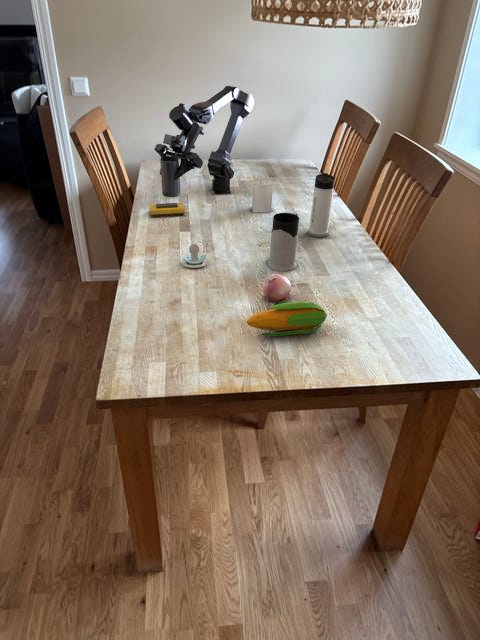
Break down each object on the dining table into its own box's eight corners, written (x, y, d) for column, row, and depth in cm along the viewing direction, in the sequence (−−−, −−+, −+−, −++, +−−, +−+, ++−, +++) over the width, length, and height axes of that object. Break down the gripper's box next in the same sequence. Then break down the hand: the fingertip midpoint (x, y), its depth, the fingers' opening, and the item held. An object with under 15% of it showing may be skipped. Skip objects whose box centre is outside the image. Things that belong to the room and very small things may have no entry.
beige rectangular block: (271, 212, 183) (272, 186, 178) (252, 212, 183) (254, 186, 177) (269, 208, 186) (271, 182, 181) (252, 208, 186) (253, 182, 180)
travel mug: (326, 230, 172) (334, 173, 160) (327, 238, 166) (335, 179, 155) (308, 229, 172) (315, 172, 161) (309, 237, 167) (315, 178, 155)
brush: (182, 210, 183) (182, 200, 181) (184, 215, 178) (184, 206, 176) (150, 212, 180) (149, 202, 178) (151, 217, 176) (150, 208, 174)
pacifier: (206, 269, 146) (206, 259, 151) (206, 250, 142) (206, 241, 147) (181, 269, 146) (182, 259, 150) (180, 250, 142) (181, 241, 147)
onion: (262, 290, 137) (263, 267, 133) (290, 291, 137) (292, 268, 133) (262, 306, 130) (263, 282, 126) (291, 307, 130) (294, 283, 126)
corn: (333, 309, 116) (250, 316, 112) (329, 336, 120) (249, 344, 116) (322, 294, 122) (243, 300, 119) (319, 320, 126) (243, 327, 122)
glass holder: (263, 266, 148) (266, 219, 140) (280, 248, 159) (284, 203, 151) (290, 273, 145) (295, 226, 137) (306, 254, 156) (311, 209, 148)
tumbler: (181, 191, 180) (180, 156, 172) (179, 197, 174) (177, 162, 167) (164, 190, 180) (162, 156, 173) (161, 197, 174) (158, 161, 167)
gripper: (156, 119, 171) (135, 158, 170) (196, 128, 162) (175, 170, 161) (172, 138, 181) (153, 175, 180) (212, 148, 172) (192, 187, 171)
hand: (167, 177), depth 172 cm, fingers closed on tumbler, 6 cm apart
